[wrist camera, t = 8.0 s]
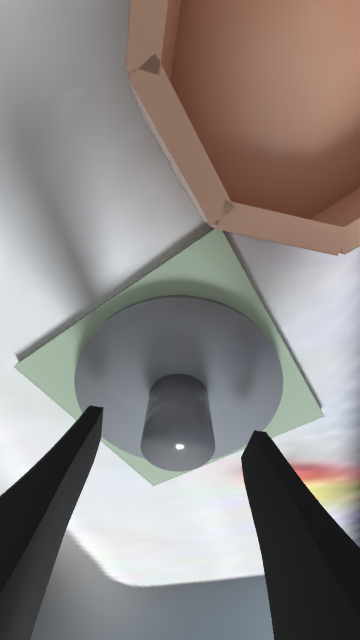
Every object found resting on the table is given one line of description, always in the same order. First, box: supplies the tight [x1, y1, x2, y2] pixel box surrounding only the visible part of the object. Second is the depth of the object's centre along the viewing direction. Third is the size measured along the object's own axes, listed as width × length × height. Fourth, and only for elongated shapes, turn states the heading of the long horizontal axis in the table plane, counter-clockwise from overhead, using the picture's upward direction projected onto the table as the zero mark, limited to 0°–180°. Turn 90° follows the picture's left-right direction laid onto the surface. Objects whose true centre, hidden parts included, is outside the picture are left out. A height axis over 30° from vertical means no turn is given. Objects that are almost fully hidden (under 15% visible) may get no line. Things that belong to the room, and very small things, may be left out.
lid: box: [74, 295, 283, 472], centre depth 12 cm, size 11×11×4 cm
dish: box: [126, 0, 360, 256], centre depth 7 cm, size 10×10×3 cm
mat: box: [14, 228, 324, 486], centre depth 14 cm, size 13×13×1 cm
